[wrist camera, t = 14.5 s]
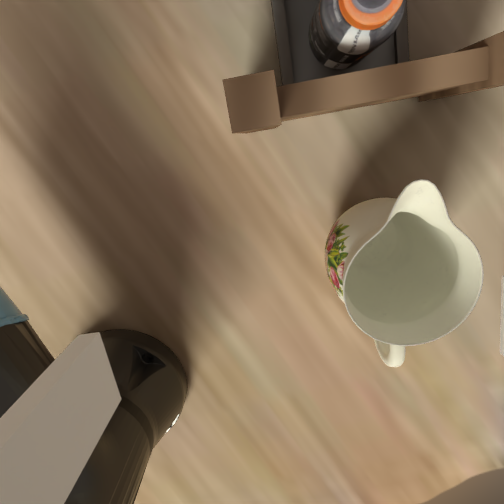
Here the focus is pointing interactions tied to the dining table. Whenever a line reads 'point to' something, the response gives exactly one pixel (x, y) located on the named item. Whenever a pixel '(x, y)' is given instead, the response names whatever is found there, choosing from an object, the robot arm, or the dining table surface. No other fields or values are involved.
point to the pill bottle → (351, 29)
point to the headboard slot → (352, 74)
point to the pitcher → (403, 269)
